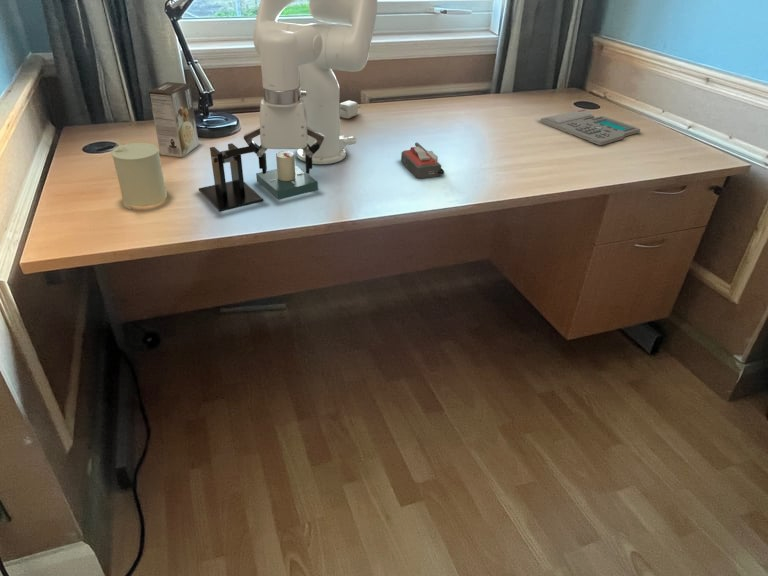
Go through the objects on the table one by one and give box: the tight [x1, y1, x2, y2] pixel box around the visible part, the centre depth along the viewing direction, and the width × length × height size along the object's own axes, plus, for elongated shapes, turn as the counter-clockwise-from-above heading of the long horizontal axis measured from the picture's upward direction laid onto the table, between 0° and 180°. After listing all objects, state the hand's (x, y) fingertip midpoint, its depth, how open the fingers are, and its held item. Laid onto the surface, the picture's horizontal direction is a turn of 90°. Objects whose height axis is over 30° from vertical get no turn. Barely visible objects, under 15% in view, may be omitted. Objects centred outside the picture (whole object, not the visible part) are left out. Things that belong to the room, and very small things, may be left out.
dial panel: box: [255, 164, 319, 201], centre depth 133 cm, size 10×11×3 cm
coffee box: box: [148, 81, 200, 158], centre depth 146 cm, size 9×6×16 cm
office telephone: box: [540, 109, 641, 146], centre depth 177 cm, size 23×3×20 cm
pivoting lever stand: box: [198, 142, 264, 213], centre depth 125 cm, size 12×10×12 cm
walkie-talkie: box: [400, 142, 445, 179], centre depth 148 cm, size 9×4×20 cm
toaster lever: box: [220, 145, 256, 165], centre depth 119 cm, size 12×6×2 cm, turn 35°
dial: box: [275, 150, 296, 181], centre depth 131 cm, size 4×4×6 cm
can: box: [111, 142, 168, 211], centre depth 123 cm, size 9×9×12 cm
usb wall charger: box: [339, 99, 361, 119], centre depth 178 cm, size 4×7×4 cm, turn 145°
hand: (286, 171), depth 132 cm, fingers open, 9 cm apart
